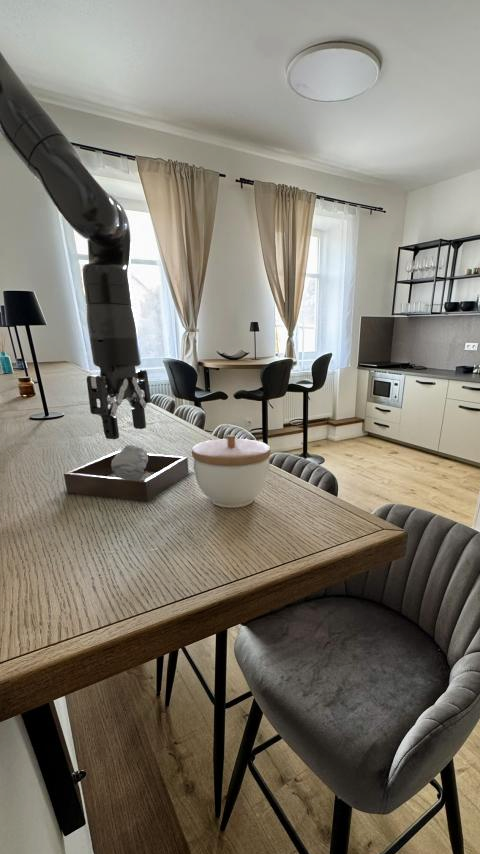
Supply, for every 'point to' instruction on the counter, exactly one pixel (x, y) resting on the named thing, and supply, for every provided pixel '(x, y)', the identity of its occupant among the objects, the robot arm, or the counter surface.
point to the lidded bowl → (231, 470)
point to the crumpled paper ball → (130, 462)
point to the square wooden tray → (98, 484)
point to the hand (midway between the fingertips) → (127, 433)
